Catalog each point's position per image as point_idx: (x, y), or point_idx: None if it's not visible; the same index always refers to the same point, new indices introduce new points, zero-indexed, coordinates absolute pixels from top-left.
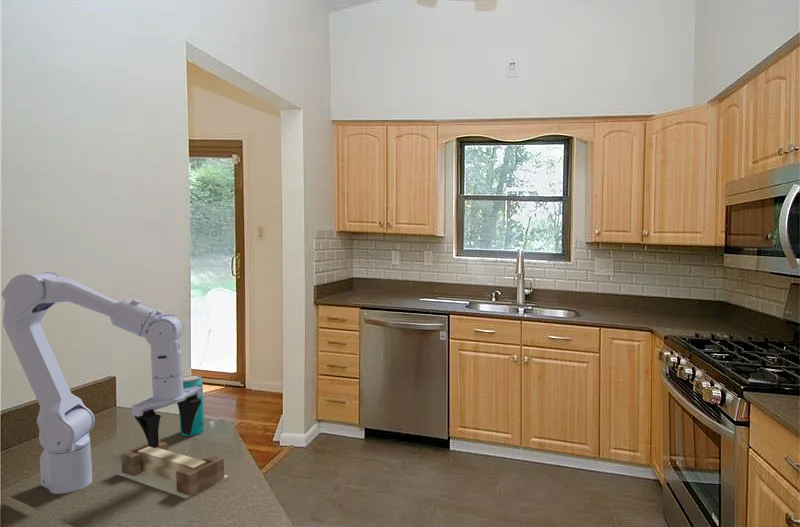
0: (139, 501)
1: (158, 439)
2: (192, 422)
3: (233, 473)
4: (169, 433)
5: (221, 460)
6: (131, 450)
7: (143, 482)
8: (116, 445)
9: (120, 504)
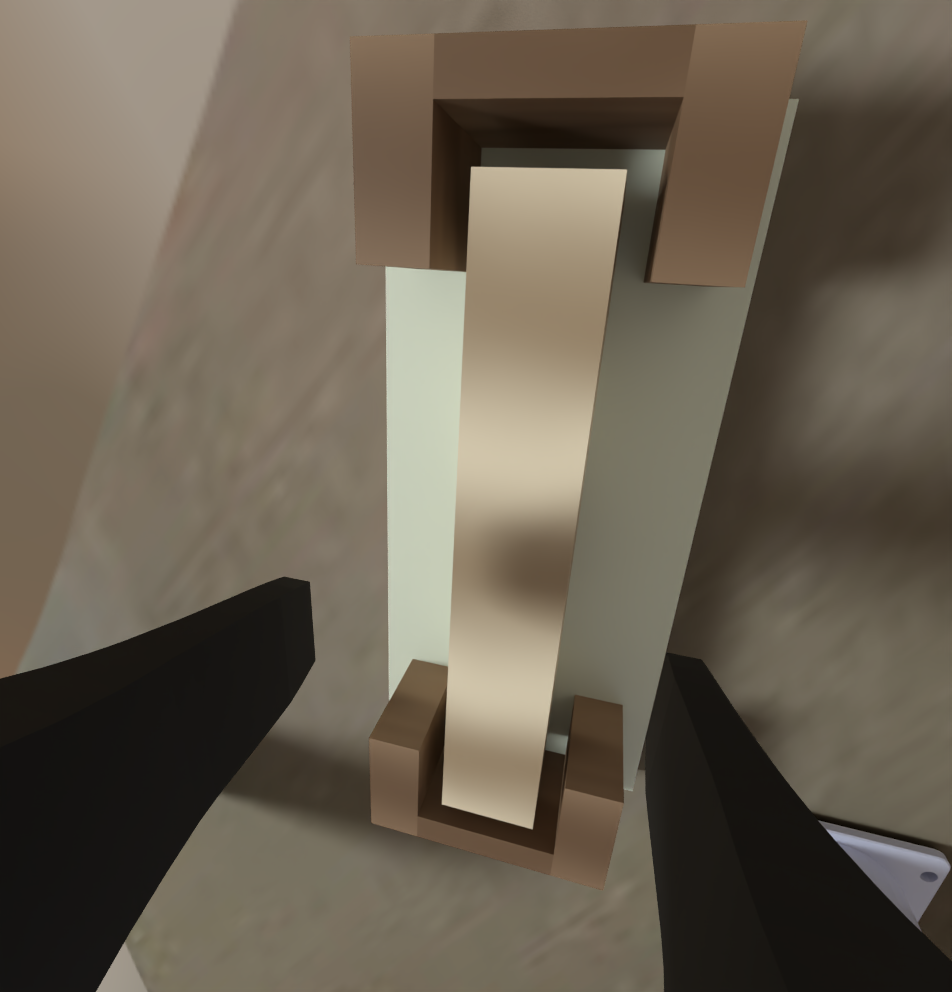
0: (830, 476)
1: (684, 700)
2: (186, 623)
3: (311, 181)
4: (213, 839)
5: (379, 36)
6: (542, 862)
7: (670, 600)
8: (390, 951)
9: (893, 556)
